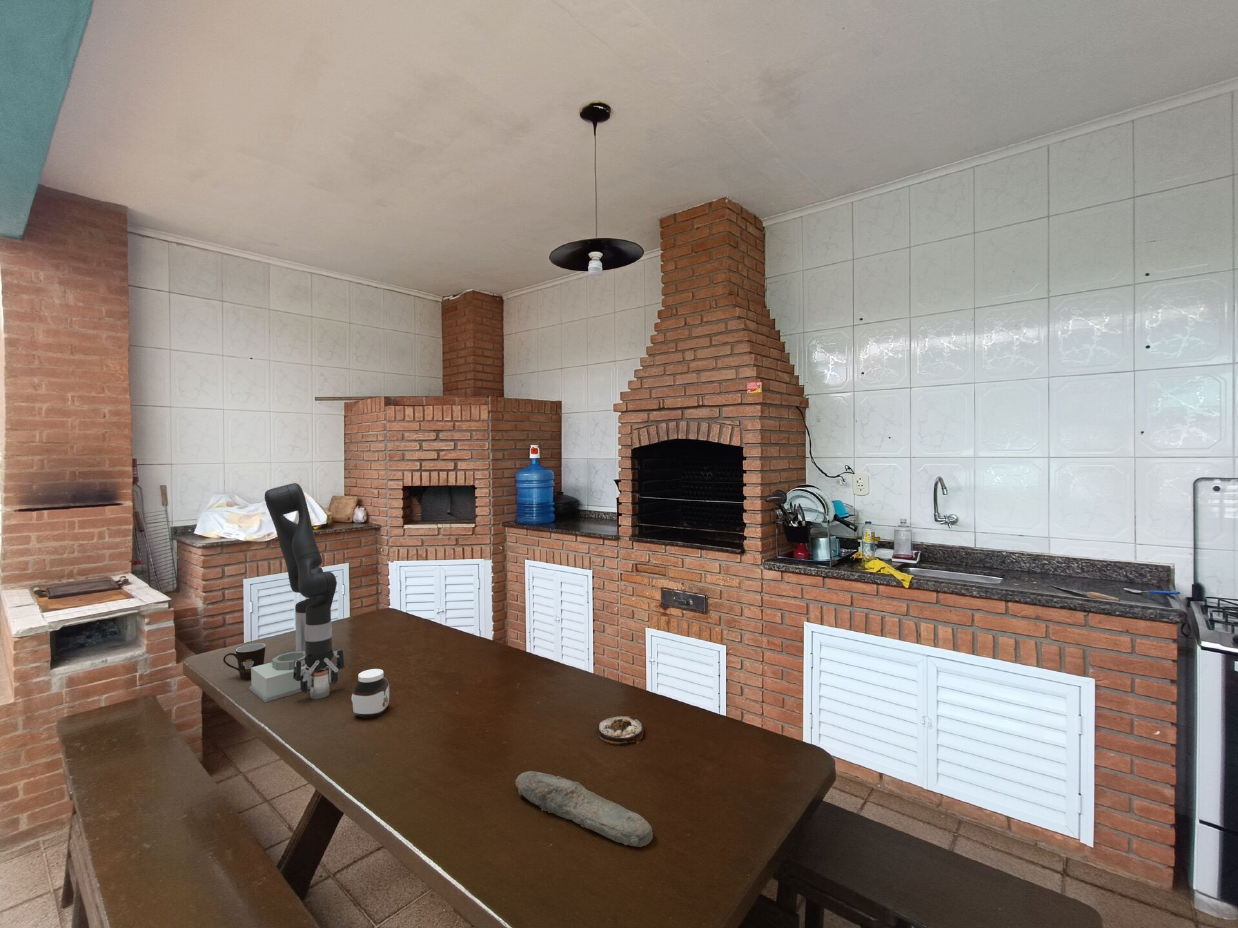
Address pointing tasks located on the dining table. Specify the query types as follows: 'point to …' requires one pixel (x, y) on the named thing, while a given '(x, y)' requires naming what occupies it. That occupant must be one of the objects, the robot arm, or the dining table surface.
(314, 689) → the spout can
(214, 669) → the dining table surface
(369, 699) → the spread jar
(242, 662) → the coffee mug
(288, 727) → the dining table surface
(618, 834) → the long grey stone
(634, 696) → the dining table surface
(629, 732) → the sushi roll
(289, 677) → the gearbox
